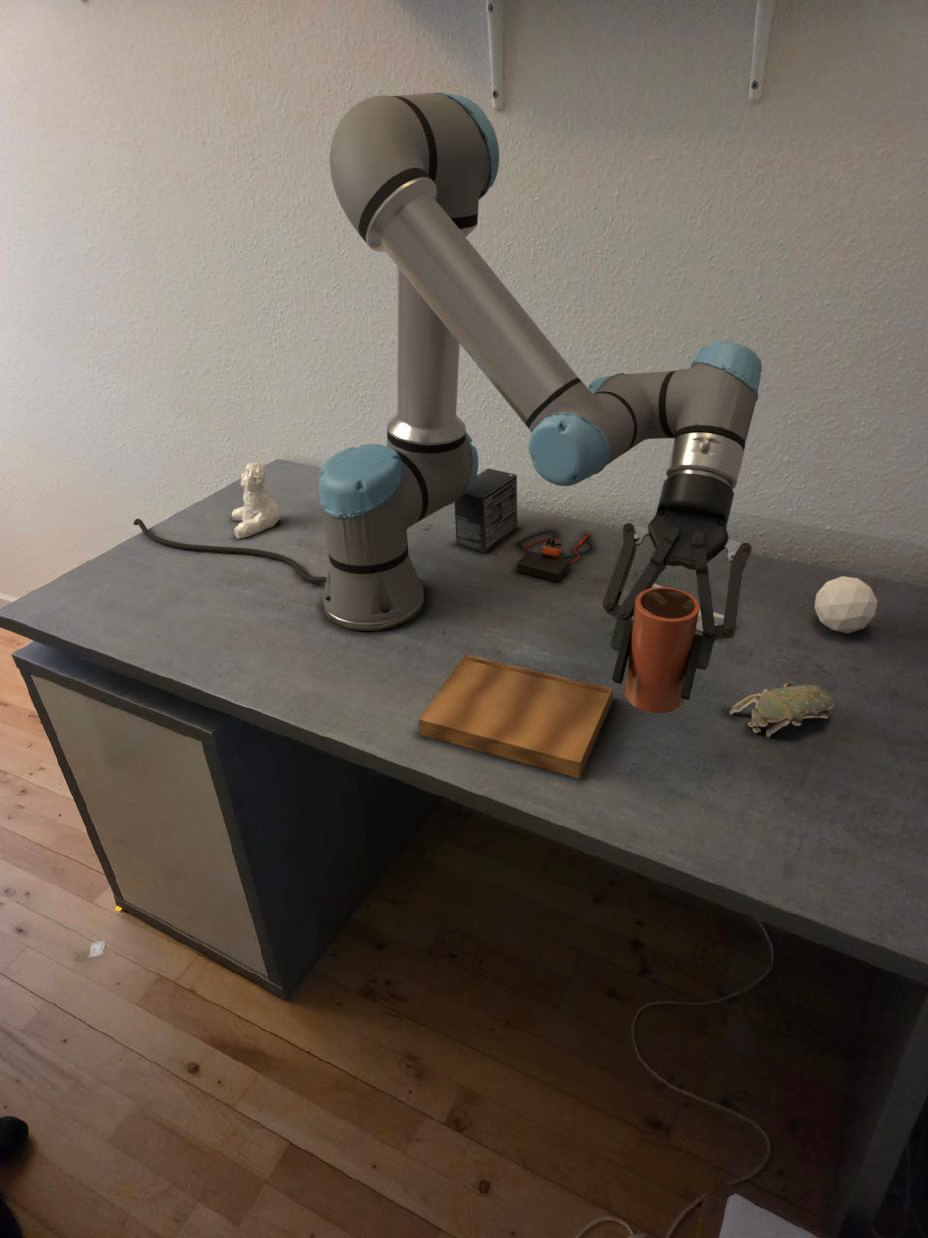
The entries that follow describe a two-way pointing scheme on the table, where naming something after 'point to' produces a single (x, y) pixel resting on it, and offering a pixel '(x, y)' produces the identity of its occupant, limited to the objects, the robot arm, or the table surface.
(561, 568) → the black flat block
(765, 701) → the decorative insect model
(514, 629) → the table surface
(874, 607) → the geometric ball
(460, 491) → the robot arm
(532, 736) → the oak board
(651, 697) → the pen cup
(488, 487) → the small box
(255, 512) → the sitting furry creature
